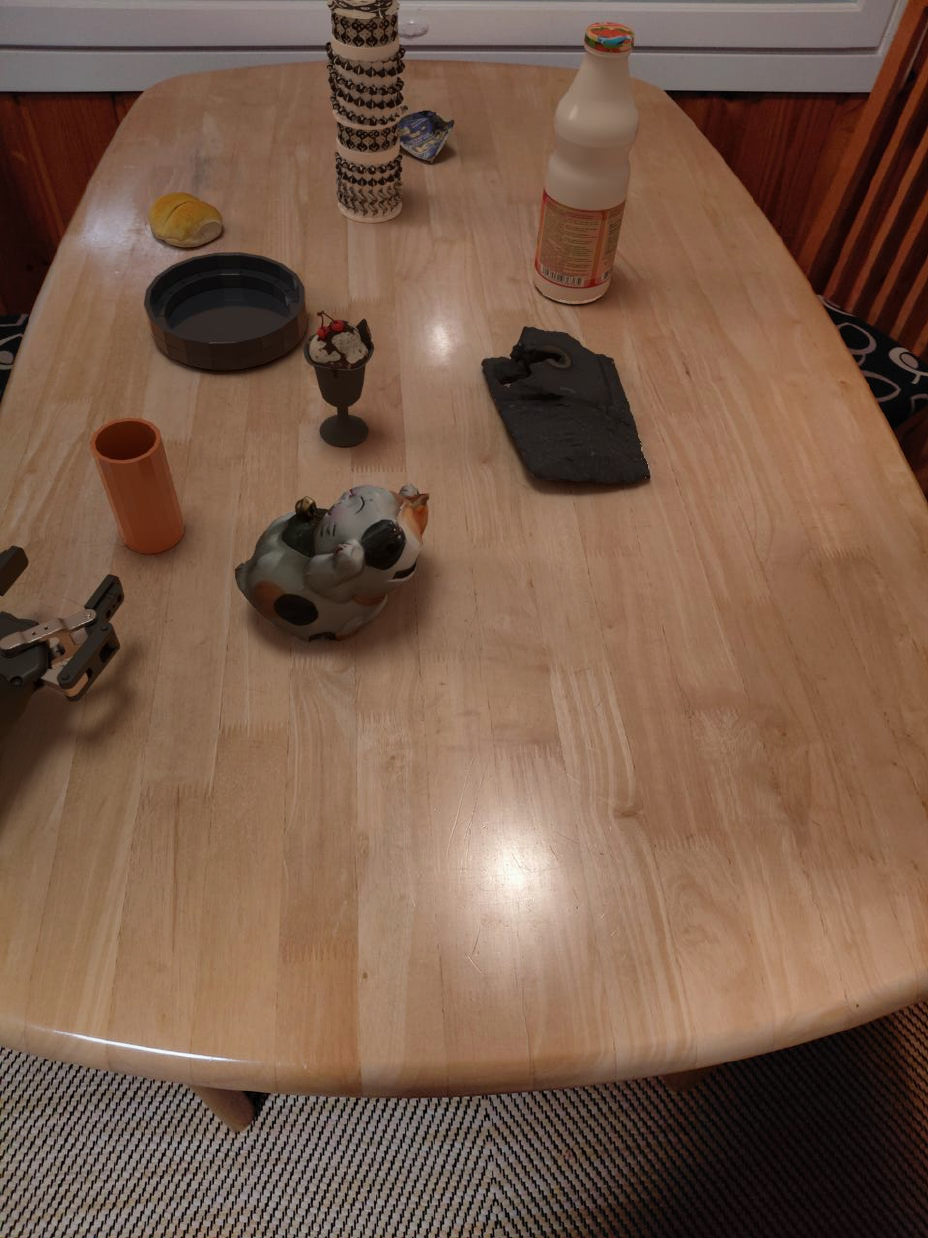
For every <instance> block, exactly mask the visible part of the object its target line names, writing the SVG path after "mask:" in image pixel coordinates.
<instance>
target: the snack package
mask: <svg viewBox="0 0 928 1238" xmlns="http://www.w3.org/2000/svg"><path fill="white" fill-rule="evenodd" d="M399 107H400V108H401V110H402V115H404V114H405V113H406V112H408V110H409V107H408V105H406V104H403V105H401V106H400V105H399ZM454 126H455V120H454V119H451V120H449V121H446V120H444V119H443V118H442V117H441V116H440V115H439V114H437V111H432V110H430V109H427V110H421V111H416V112H412V113H410V114H409V113H408V114H406V115H404V116H401V120H400V121H398V136H399V138H400V147H402V148H403V149H404V150H405V151H407V152H408V153H410V154H411V155H413V156H414V157H416V158H418V159H420V160H421V159H422V160H424V161H428V162H430V164H433V163H434V160H435V158H436V157H437V155H438V154H439V152H440V151H441V150H442V148H444V145H445V143H446V142H447V140H448V137H449V135H450V134H451V131H452V130H453V129H454Z"/></svg>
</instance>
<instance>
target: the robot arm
mask: <svg viewBox="0 0 928 1238" xmlns="http://www.w3.org/2000/svg"><path fill="white" fill-rule="evenodd" d="M29 562H30V561H29V558H28V556H27V553H26V551H25V550H24V547H20V546H16V545H14V544H13V545H10V547H9V548H8V549H4V550H3V551H1V552H0V597H4V596H5V595H6V593H8V591H9V590H10V589H11V587H12V586H14V584H15V582H16V581H17V580H18V579H19V578H20V576H21V575H22V574H23V573H24V571H25V570H26V569H27V568H28V566H29ZM125 597H126V595H125V592H124V588H123V584H122V582H121V579H120V577H119V576H117V575H114V574H110V573H108V574H107V575H106V576H105V577H104V578H103V580H102V581H101V583H100V584H99V585H98V587H97V588H96V589H95V590H94V592H93V593H92V595H91V596H90V597H89V599H88V600H87V601H86V603H85V604H84V605H83V608H84V610H81V611H79V612H76V613H74V614H72V615H70V616H67V617H65V618H61V617H54V618H52V619H51V618H50V619H49V620H46V621H44V622H42V623H39V621H36V620H33V619H30V618H19V617H17V616H16V615H14V614H12V613H10V612H7V611H4V610H1V611H0V746H1V745H2V744H3V743H4V741H5V740H6V739H7V737H8V736H9V734H10V733H11V732H12V731H13V729H14V727H15V726H16V725H17V723H18V722H19V721H20V719H21V718H22V716H23V715H24V714H25V712H26V709H27V708H28V705H29V702H30V700H31V699H32V697H33V696H34V695H35V694H36V693H37V692H38V691H40V690H41V689H43V688H45V687H48V688H50V689H54V690H56V691H59V692H60V693H63V694H64V696H65V698H66V700H67V701H68V702H70V703H76V702H78V701H80V700H81V699H82V698H83V697H84V696H85V695H86V693H87V692H88V690H89V689H90V688H91V687H92V686H93V684H94V683H95V681H96V680H97V679H98V678H99V677H100V675H101V674H102V673H103V671H104V670H105V669H106V667H107V666H108V665H109V664H110V662H111V661H112V660H113V658H114V657H115V656H116V654H118V652H119V650H120V649H121V643H120V640H119V637H118V636H117V633H116V630H115V628H114V625H113V623H111V622H110V621H111V619H112V618H113V617H114V615H115V614H116V612H117V611H118V610H119V608H120V607H121V606H122V604H123V603H124V601H125ZM53 638H58V640H59V641H58V643H57V644H55V645H53V646H52V647H51V642H50V639H53ZM69 658H70V659H69ZM67 659H68V660H67ZM58 663H60V665H59V666H58V667H56V668H53V666H54V665H56V664H58Z"/></svg>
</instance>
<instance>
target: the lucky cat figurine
mask: <svg viewBox="0 0 928 1238" xmlns="http://www.w3.org/2000/svg"><path fill="white" fill-rule="evenodd" d="M429 500H430V493H429V492H428V493H427V492H425V493H420V491H419V488H418V487H415V486H414V485H413V483H412V482H410V483H409V486H408V485H403V486H401V488H400V490H399V492H398V493H397V492H396V491H394V490H391V489H388V488H383V487H381V486H377V485H372V484H362V485H358V486H355V487H352V488H349V489H348V490H346V491H344V492H343V493H342V495H341V496H340V498H338V500H337V501H336V502H335V503H333V505H331V507H330V508H329V509H328V508H322V507H318V506H317V503H316V501H315V499H313V498H311V497H310V496H308V495H306V496H304V497H303V498H301V499H299V500H297V501H296V503H295V505H294V510H295V511H290V512H287V513H285V514H283V515H281V516H279V517H278V518H276V519H274V520H273V521H272V522H271V523H270V524H269V526H267V528H266V529H265V530H263V532H262V534H261V535H260V536H259V538H258V540H257V541H256V545H255V547H254V551H253V554H252V556H251V557H250V559H248V560H245V562H240V564H238V566H236V568H234V579H235V582H236V586H237V588H238V590H239V591H240V592H241V594H242V595H243V596H244V598H245V599H246V600H247V601H248V603H249V604H250V605H251V606H252V607H253V608H254V609H255V610H256V611H257V612H258V613H259V614H260V615H262V616H263V617H264V618H265V619H267V620H268V621H269V622H270V623H272V624H273V626H275V627H276V628H279V630H281V631H283V632H284V633H287V634H289V635H291V636H293V637H296V639H299V640H301V641H303V642H306V643H311V642H314V641H317V640H319V639H323V638H324V639H325V640H328V641H337V642H340V641H342V640H345V639H348V638H349V639H350V638H351V637H352V636H354V635H355V634H356V633H357V632H358V631H359V630H360V629H361V628H362V627H364V626H365V625H366V624H368V623H369V622H371V621H373V620H374V619H375V618H377V617H378V615H379V614H380V613H381V612H382V611H383V609H384V607H385V606H386V603H387V601H388V593H389V592H391V591H393V590H394V589H396V588H397V587H399V586H401V585H402V584H404V583H406V582H408V581H409V580H411V578H412V577H413V576H414V573H415V572H416V570H417V561H418V556H419V554H420V552H421V549H422V547H423V546H424V540H423V535H424V533H425V531H426V528H427V525H428V524H429V504H428V501H429Z"/></svg>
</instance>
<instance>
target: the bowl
mask: <svg viewBox="0 0 928 1238" xmlns="http://www.w3.org/2000/svg"><path fill="white" fill-rule="evenodd" d="M306 298H307V297H306V288H305V286H304V283H303V282H302V280H301V279H300V277H299V275H298V274H297V273H296V272H294V271H293V270H292V269H291V268H289V267H288V266H287V265H285V264H284V263H282V262H280V261H277V260H274V259H272V258H271V257H270V258H269V257H267V256H264V255H259V254H253V253H247V252H241V251H238V252H237V251H231V252H229V251H227V252H226V251H225V252H224V251H223V252H219V251H218V252H213V253H207V254H201V255H196V256H192V257H189V258H187V259H183V260H182V261H179V262H176V263H174V264H172V265H170V266H168V267H167V268H166V269H164V270H163V271H162V272H159V274H157V275H155V277H154V278H153V279H152V281H151V283H149V284H148V287H147V288H145V294H144V300H143V307H144V311H145V316H146V319H147V324H148V328H149V332H150V335H151V336H152V339H153V341H154V344H155V345H156V346H157V347H158V348H159V349H160V350H161V351H162V352H163V353H164V354H165V355H166V356H167V357H169V358H171V359H173V360H176V361H178V362H181V363H183V364H184V365H186V366H190V367H194V368H195V367H196V368H201V369H207V370H213V371H224V370H225V371H226V370H227V371H228V370H230V371H231V370H242V369H248V368H252V367H256V366H260V365H264V364H267V363H269V362H271V361H273V360H275V359H277V358H280V357H283V356H285V355H286V354H287V353H288V352H290V351H291V350H292V349H293V348H294V347H295V346H296V345H298V344H299V343H300V341H301V340H302V338H303V336H304V334H305V333H306V331H307V328H308V310H307V309H308V308H307V299H306Z"/></svg>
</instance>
